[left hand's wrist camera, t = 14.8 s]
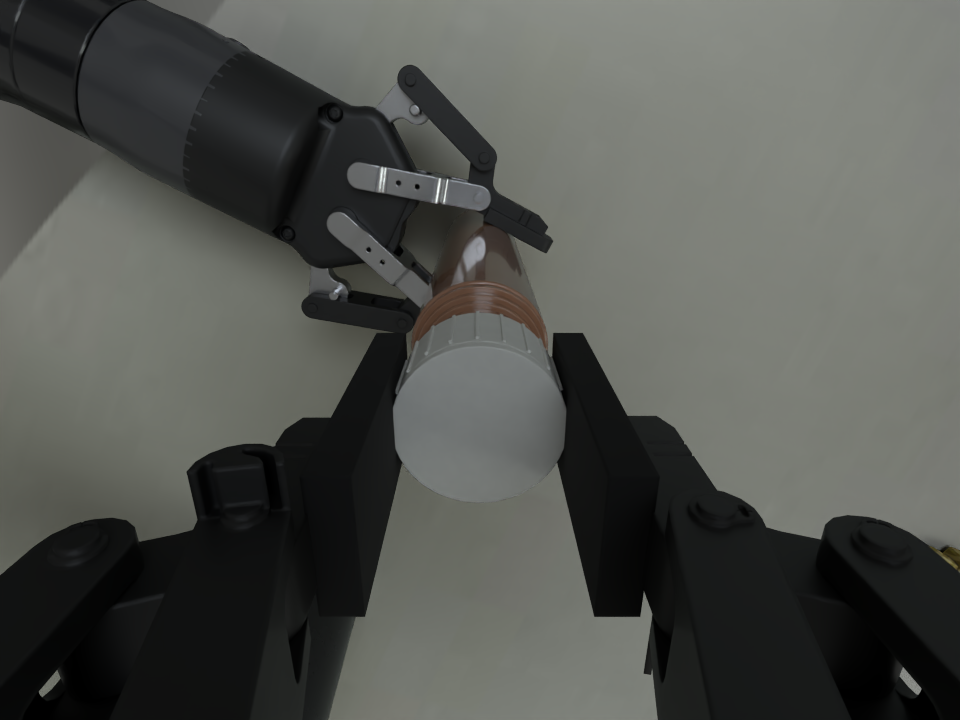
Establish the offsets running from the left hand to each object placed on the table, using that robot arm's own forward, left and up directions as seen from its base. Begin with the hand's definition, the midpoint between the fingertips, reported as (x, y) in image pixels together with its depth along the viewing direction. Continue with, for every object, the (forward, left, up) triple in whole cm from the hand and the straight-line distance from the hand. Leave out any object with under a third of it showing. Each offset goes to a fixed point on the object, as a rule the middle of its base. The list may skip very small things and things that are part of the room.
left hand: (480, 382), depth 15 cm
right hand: (-1, +2, -16) cm, 16 cm away
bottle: (0, 0, -22) cm, 22 cm away
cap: (0, 0, +2) cm, 2 cm away
